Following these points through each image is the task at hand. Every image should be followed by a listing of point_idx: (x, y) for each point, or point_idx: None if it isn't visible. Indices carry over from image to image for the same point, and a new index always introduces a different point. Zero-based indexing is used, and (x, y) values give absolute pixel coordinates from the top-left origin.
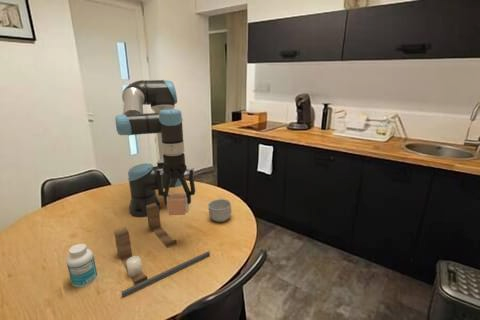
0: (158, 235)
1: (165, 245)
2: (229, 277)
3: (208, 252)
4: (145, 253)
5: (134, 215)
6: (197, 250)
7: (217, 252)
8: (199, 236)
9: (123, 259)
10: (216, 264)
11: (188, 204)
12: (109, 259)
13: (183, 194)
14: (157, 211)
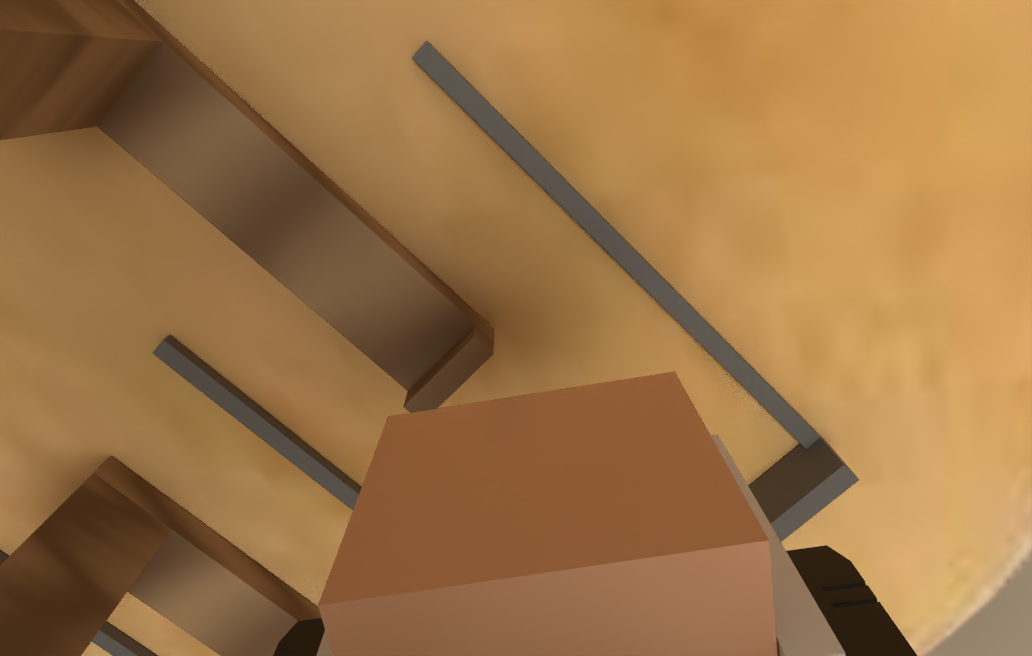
0: (239, 229)
1: (396, 378)
2: (986, 594)
3: (847, 480)
4: (252, 443)
5: None
6: (700, 350)
7: (887, 354)
8: (673, 126)
9: (139, 583)
10: (886, 491)
11: (751, 501)
12: (8, 541)
13: (700, 619)
14: (17, 52)
